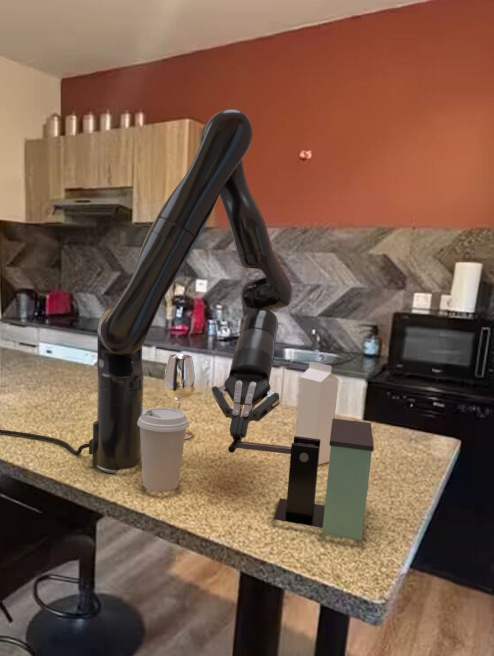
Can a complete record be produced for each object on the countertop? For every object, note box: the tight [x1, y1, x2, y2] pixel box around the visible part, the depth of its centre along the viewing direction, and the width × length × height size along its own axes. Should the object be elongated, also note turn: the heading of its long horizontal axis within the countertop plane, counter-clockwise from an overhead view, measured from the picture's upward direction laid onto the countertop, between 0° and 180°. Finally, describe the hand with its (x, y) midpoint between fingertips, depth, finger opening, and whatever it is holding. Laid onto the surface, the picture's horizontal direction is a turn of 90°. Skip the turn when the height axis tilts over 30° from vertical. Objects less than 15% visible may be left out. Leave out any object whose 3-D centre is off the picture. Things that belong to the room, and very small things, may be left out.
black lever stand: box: [273, 435, 325, 529], centre depth 94 cm, size 8×9×14 cm
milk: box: [294, 361, 340, 466], centre depth 122 cm, size 6×6×22 cm
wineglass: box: [162, 353, 196, 440], centre depth 136 cm, size 8×8×20 cm
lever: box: [227, 439, 315, 455], centre depth 94 cm, size 14×6×2 cm, turn 73°
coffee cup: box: [137, 407, 190, 492], centre depth 103 cm, size 10×10×15 cm
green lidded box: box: [321, 418, 375, 541], centre depth 91 cm, size 6×13×17 cm, turn 163°
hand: (236, 438), depth 96 cm, fingers closed
